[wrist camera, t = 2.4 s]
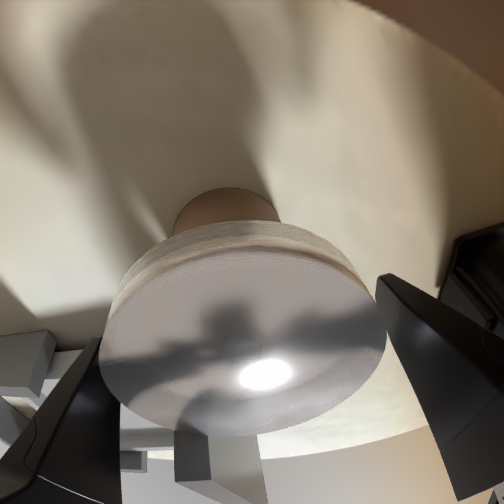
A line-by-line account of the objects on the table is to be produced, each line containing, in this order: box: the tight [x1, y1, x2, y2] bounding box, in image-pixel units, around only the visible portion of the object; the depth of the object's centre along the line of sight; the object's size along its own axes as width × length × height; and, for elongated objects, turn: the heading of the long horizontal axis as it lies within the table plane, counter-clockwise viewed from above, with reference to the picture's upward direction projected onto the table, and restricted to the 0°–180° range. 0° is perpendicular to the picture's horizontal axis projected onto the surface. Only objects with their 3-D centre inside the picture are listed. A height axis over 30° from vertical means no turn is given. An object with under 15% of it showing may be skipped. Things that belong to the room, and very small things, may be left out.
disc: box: [99, 220, 387, 437], centre depth 7 cm, size 7×7×2 cm
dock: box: [0, 330, 147, 473], centre depth 16 cm, size 15×14×4 cm
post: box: [172, 188, 281, 237], centre depth 10 cm, size 4×4×5 cm
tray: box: [21, 349, 268, 504], centre depth 14 cm, size 14×14×8 cm
